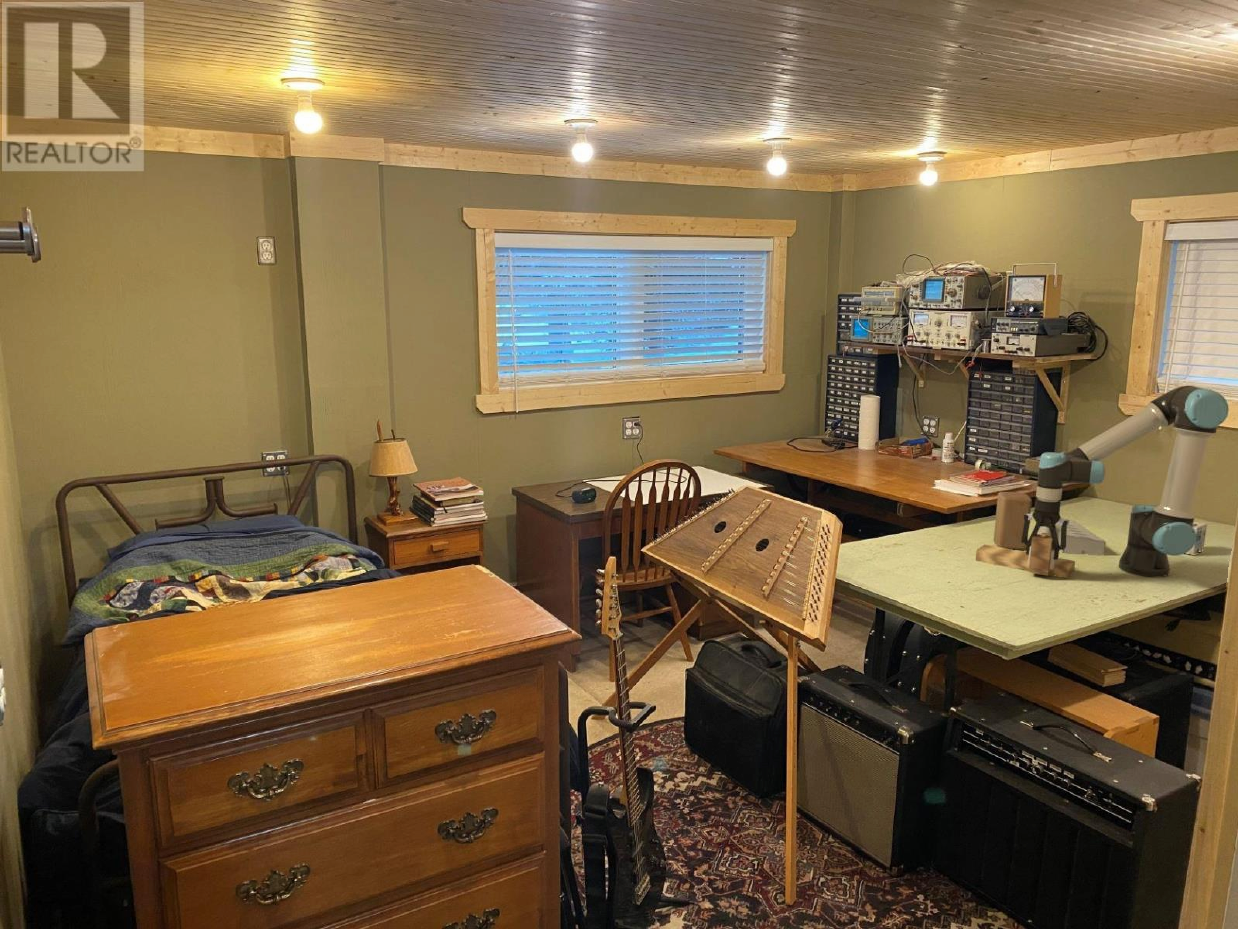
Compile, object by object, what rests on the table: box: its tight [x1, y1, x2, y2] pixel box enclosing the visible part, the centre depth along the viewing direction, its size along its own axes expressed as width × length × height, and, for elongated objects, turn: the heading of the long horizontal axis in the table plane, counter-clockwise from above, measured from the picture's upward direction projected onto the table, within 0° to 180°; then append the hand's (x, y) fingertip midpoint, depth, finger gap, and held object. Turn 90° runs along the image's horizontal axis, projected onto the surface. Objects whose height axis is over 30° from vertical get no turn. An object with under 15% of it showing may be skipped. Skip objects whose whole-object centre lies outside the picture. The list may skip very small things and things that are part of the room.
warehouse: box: [1037, 519, 1106, 556], centre depth 334 cm, size 30×14×8 cm, turn 173°
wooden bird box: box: [1028, 533, 1054, 576], centre depth 297 cm, size 6×15×13 cm, turn 141°
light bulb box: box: [1186, 521, 1208, 556], centre depth 325 cm, size 11×7×11 cm, turn 129°
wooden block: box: [993, 491, 1033, 551], centre depth 328 cm, size 10×10×20 cm
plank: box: [975, 543, 1076, 579], centre depth 305 cm, size 30×9×4 cm, turn 51°
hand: (1040, 566), depth 294 cm, fingers closed on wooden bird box, 6 cm apart
